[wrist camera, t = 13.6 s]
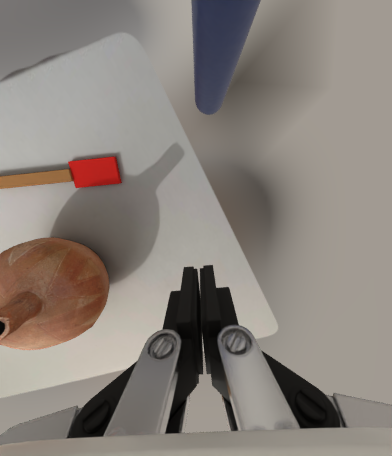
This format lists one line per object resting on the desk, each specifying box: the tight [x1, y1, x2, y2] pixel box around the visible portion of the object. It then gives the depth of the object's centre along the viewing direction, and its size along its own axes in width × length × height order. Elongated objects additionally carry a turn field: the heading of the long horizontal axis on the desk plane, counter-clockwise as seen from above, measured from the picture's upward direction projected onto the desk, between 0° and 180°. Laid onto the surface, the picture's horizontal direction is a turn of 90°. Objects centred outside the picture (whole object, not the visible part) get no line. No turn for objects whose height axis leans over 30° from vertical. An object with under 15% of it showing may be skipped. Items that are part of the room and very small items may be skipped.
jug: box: [0, 237, 109, 350], centre depth 28 cm, size 18×18×20 cm
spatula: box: [0, 157, 122, 189], centre depth 32 cm, size 4×22×1 cm, turn 96°
